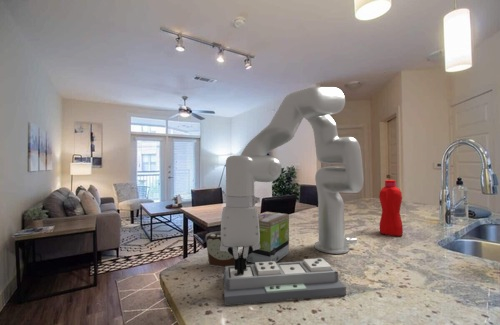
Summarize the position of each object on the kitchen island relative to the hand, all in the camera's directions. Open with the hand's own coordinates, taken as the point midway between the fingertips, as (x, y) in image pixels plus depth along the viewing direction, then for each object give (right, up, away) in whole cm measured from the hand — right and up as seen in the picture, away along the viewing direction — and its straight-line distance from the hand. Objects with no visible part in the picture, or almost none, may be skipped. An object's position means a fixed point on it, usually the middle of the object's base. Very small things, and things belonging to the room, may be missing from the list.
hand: (240, 271), depth 63 cm
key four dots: (+7, -1, +1) cm, 7 cm away
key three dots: (+21, -1, +3) cm, 21 cm away
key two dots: (0, -2, 0) cm, 2 cm away
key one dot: (+14, -2, +2) cm, 14 cm away
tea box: (+9, -5, +21) cm, 24 cm away
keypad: (+11, -4, +1) cm, 12 cm away
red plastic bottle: (+69, -5, +49) cm, 85 cm away
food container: (-5, -5, +17) cm, 18 cm away
